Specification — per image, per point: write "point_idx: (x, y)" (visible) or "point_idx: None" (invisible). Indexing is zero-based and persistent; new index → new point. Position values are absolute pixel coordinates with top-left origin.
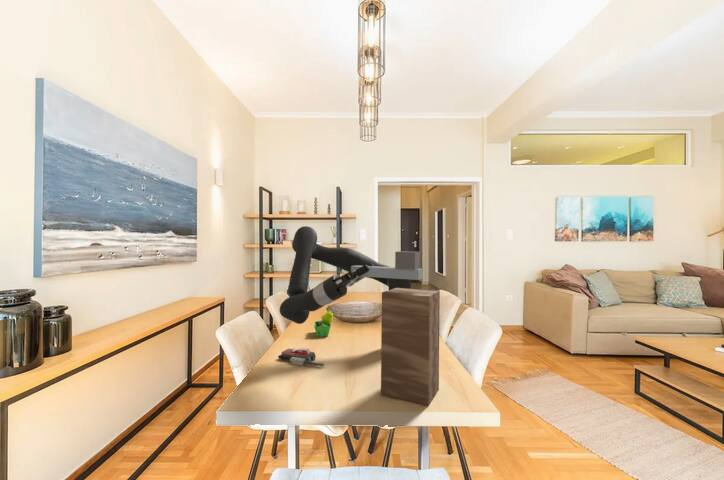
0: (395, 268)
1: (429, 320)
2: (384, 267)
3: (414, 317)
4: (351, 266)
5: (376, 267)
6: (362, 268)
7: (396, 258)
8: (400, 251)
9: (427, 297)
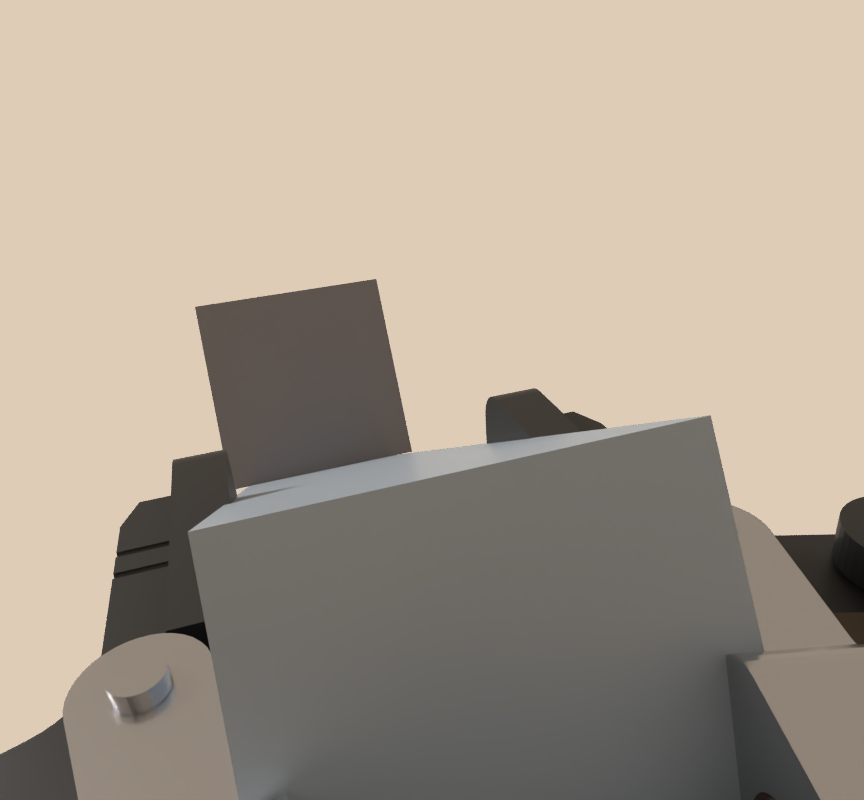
0: (410, 450)
1: None
2: (358, 465)
3: None
4: (704, 425)
5: (447, 448)
6: None
7: (387, 349)
8: (259, 300)
9: None
